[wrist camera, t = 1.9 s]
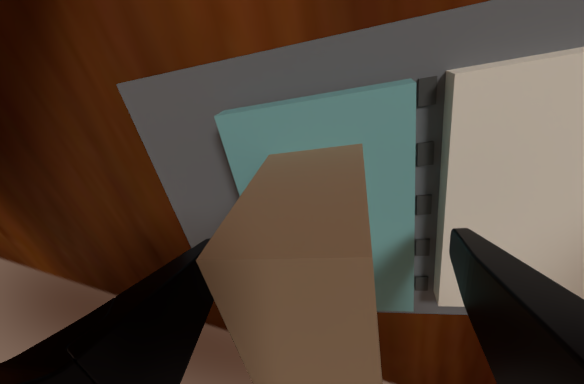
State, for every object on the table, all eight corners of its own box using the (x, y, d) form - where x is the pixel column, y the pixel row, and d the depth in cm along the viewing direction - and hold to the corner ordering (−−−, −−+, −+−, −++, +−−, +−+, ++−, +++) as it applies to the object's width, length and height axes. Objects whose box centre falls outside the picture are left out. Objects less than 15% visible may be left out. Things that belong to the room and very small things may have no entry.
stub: (410, 78, 8) (505, 150, 3) (410, 295, 12) (450, 477, 7) (223, 110, 10) (84, 193, 5) (279, 293, 14) (237, 442, 9)
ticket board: (1042, -123, 6) (1353, -192, 4) (727, 296, 11) (796, 345, 9) (137, 79, 11) (98, 87, 9) (226, 290, 17) (212, 319, 15)
